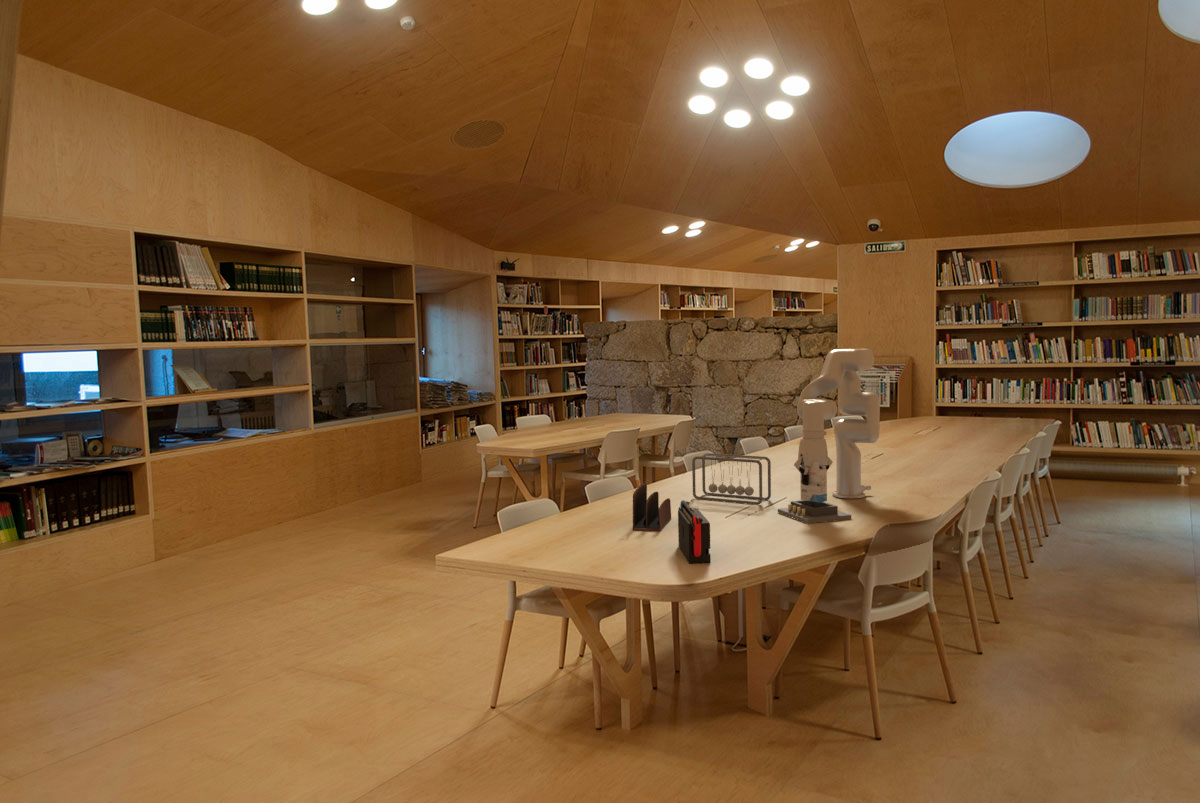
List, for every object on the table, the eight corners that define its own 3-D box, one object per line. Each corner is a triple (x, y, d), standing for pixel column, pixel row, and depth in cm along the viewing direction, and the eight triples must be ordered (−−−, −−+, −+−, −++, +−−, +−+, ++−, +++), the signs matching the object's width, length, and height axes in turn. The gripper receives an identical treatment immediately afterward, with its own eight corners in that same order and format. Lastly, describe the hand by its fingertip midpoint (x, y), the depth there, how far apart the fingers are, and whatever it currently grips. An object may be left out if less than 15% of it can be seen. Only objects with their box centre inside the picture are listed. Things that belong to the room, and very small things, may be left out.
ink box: (827, 501, 294) (827, 460, 293) (819, 503, 291) (819, 462, 290) (808, 498, 301) (808, 458, 300) (799, 499, 298) (799, 460, 297)
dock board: (819, 508, 309) (819, 496, 308) (851, 518, 290) (851, 506, 290) (777, 512, 303) (777, 500, 303) (807, 523, 284) (807, 511, 284)
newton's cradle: (692, 499, 333) (691, 456, 332) (703, 494, 342) (702, 452, 341) (761, 505, 317) (761, 460, 316) (771, 500, 326) (770, 456, 325)
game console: (676, 543, 262) (675, 499, 261) (696, 542, 262) (695, 498, 261) (691, 568, 234) (690, 518, 233) (713, 567, 234) (712, 517, 233)
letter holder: (632, 530, 281) (631, 490, 280) (645, 518, 300) (644, 480, 299) (660, 532, 279) (659, 491, 278) (671, 519, 298) (670, 481, 297)
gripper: (827, 432, 301) (827, 480, 302) (786, 435, 295) (787, 484, 296) (839, 434, 293) (839, 483, 295) (798, 437, 288) (798, 487, 289)
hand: (813, 483), depth 296 cm, fingers closed on ink box, 6 cm apart
